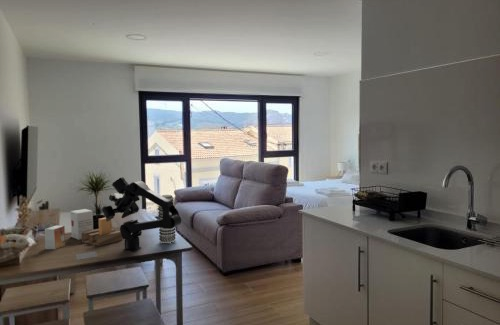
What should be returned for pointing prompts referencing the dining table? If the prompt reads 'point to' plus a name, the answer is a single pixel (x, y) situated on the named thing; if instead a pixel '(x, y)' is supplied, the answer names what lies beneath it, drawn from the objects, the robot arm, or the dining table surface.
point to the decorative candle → (166, 234)
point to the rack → (100, 237)
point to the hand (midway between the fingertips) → (114, 219)
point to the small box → (55, 237)
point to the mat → (86, 255)
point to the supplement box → (81, 222)
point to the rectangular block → (104, 226)
